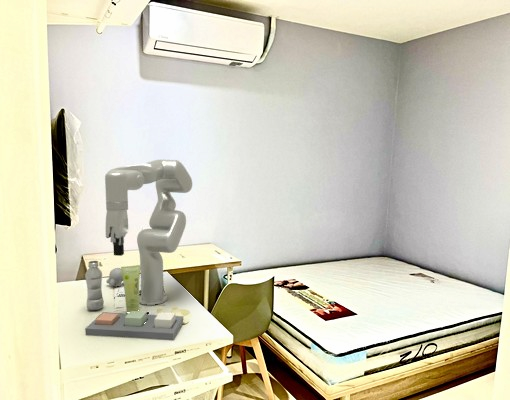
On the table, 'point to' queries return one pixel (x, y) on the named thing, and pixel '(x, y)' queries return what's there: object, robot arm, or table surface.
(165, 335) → the panel
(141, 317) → the sage button
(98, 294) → the plastic bottle
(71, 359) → the table surface
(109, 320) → the terracotta button
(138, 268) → the tube
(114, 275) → the chubby cartoon animal
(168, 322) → the offwhite button
